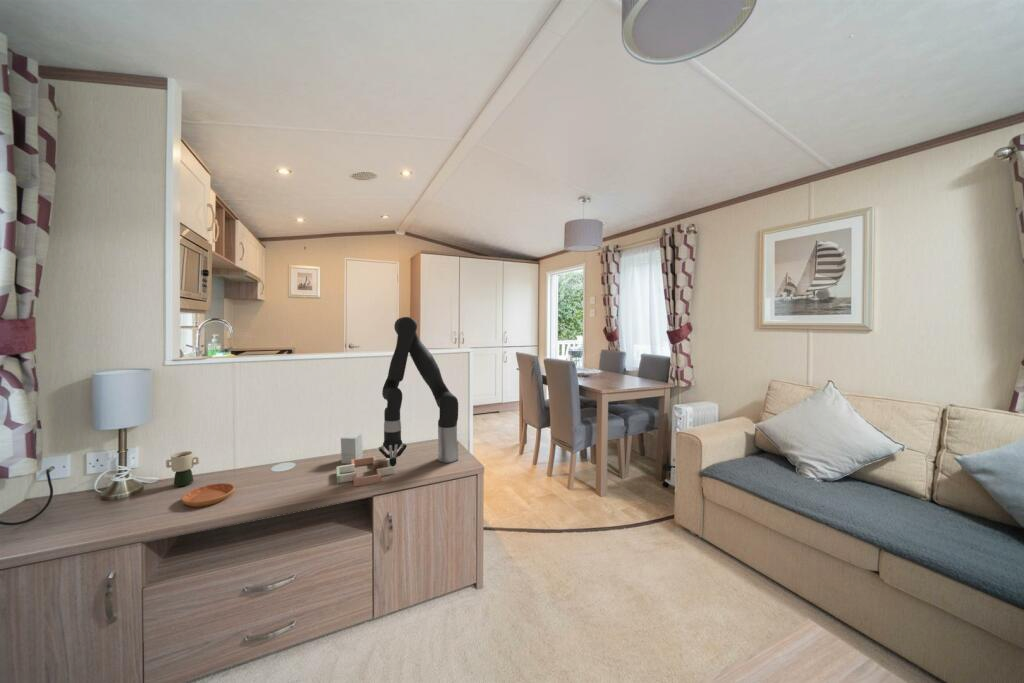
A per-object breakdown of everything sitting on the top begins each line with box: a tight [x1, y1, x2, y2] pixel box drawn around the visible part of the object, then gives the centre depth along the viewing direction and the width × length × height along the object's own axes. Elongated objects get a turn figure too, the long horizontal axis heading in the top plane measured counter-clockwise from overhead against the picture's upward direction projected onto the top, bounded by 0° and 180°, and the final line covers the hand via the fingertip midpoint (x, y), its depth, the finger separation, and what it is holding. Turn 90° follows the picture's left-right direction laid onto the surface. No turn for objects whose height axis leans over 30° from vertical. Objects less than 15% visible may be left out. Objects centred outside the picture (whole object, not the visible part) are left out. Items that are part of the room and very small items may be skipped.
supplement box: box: [340, 433, 364, 465], centre depth 186 cm, size 7×7×13 cm
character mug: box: [165, 450, 200, 487], centre depth 159 cm, size 11×7×13 cm, turn 114°
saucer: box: [181, 482, 235, 508], centre depth 148 cm, size 16×16×3 cm
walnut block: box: [372, 458, 389, 475], centre depth 175 cm, size 6×6×4 cm
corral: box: [336, 455, 395, 487], centre depth 173 cm, size 24×24×3 cm
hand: (392, 465), depth 178 cm, fingers closed
